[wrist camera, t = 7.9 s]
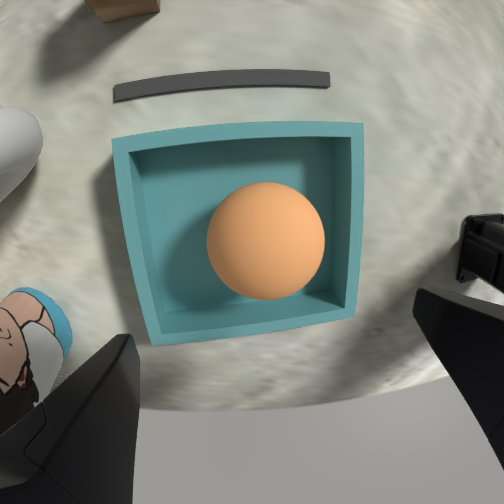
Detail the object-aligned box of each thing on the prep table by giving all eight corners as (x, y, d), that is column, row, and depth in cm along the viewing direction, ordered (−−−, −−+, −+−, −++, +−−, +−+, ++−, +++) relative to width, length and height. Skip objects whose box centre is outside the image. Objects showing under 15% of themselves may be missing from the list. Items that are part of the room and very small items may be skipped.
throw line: (327, 72, 16) (329, 72, 16) (329, 87, 16) (330, 86, 16) (115, 85, 14) (114, 85, 14) (116, 101, 15) (115, 100, 15)
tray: (338, 124, 17) (363, 123, 14) (335, 294, 22) (354, 316, 19) (126, 139, 16) (111, 139, 13) (156, 318, 20) (151, 345, 17)
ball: (315, 261, 19) (363, 210, 14) (263, 334, 16) (307, 303, 11) (241, 205, 20) (266, 140, 15) (180, 268, 17) (184, 208, 12)
